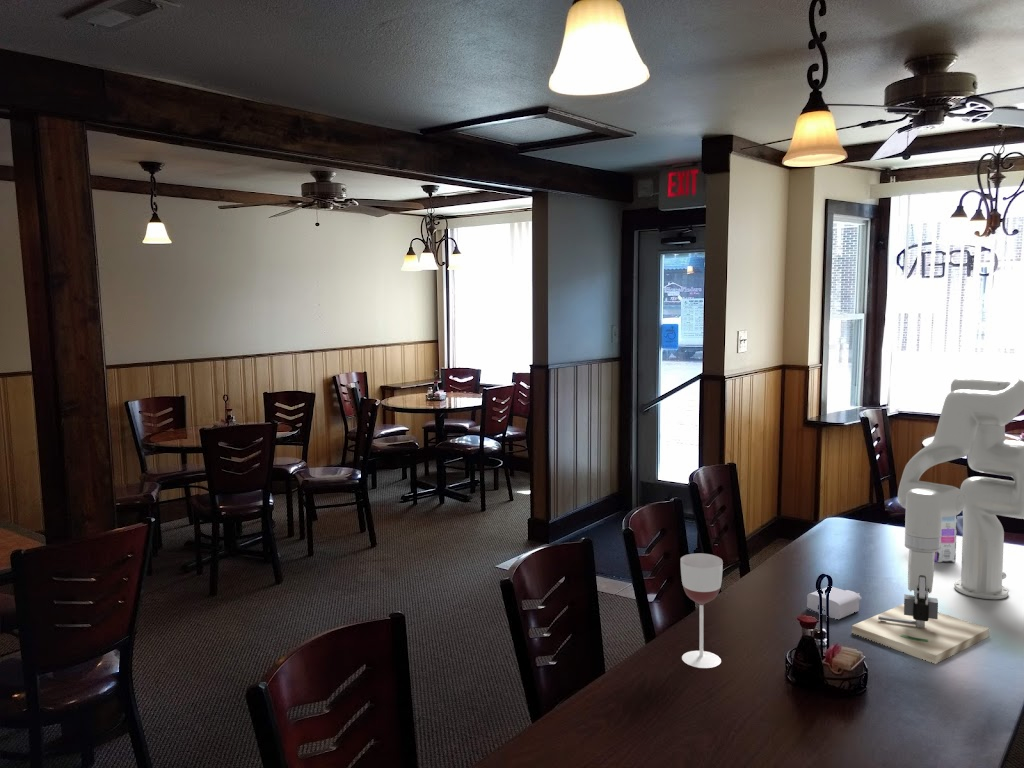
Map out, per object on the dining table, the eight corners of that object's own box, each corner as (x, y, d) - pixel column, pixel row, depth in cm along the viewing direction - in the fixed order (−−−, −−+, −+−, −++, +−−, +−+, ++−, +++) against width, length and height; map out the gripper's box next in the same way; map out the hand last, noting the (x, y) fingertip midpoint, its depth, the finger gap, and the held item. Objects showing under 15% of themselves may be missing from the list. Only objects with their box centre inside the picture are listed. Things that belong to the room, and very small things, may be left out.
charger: (872, 607, 202) (839, 621, 193) (840, 596, 209) (806, 610, 201) (872, 589, 201) (839, 603, 193) (840, 579, 209) (807, 592, 200)
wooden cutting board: (906, 609, 199) (906, 602, 198) (989, 636, 182) (989, 627, 182) (851, 633, 185) (851, 625, 185) (935, 664, 169) (935, 655, 169)
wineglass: (723, 652, 177) (724, 555, 175) (720, 671, 168) (721, 569, 166) (683, 647, 180) (683, 551, 178) (678, 666, 171) (677, 565, 169)
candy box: (956, 562, 233) (958, 509, 231) (937, 563, 233) (938, 510, 231) (932, 548, 247) (934, 498, 245) (913, 548, 247) (915, 498, 245)
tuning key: (936, 626, 183) (937, 598, 183) (937, 630, 181) (938, 602, 180) (878, 617, 189) (879, 591, 188) (878, 622, 186) (878, 595, 186)
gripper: (904, 530, 191) (902, 601, 192) (905, 550, 176) (903, 627, 178) (938, 533, 187) (936, 606, 189) (942, 553, 172) (940, 632, 174)
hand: (920, 615), depth 183 cm, fingers open, 3 cm apart
